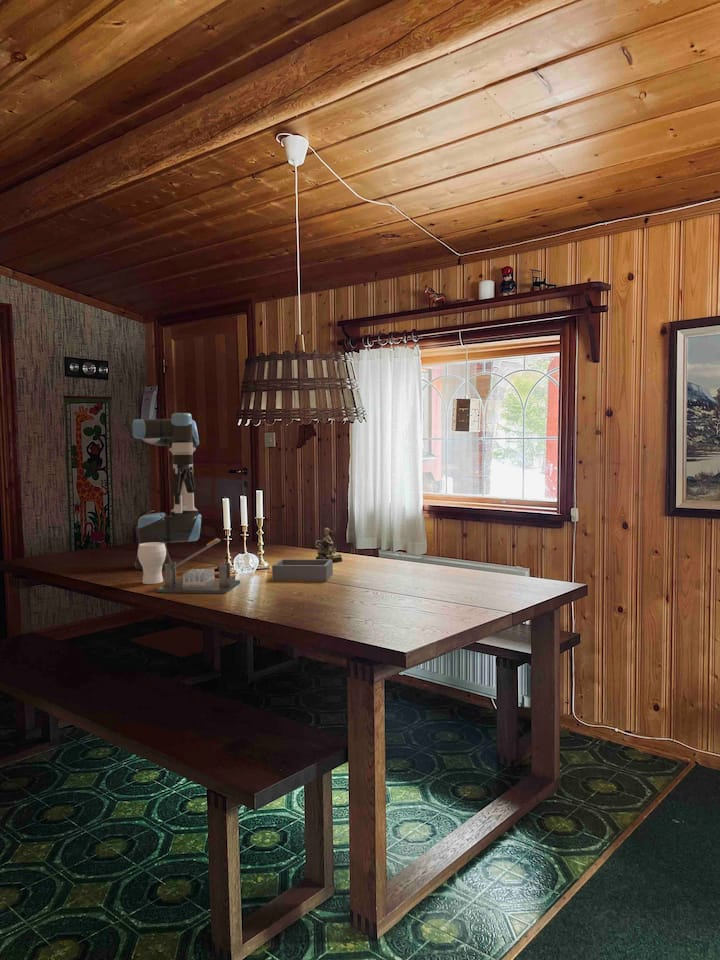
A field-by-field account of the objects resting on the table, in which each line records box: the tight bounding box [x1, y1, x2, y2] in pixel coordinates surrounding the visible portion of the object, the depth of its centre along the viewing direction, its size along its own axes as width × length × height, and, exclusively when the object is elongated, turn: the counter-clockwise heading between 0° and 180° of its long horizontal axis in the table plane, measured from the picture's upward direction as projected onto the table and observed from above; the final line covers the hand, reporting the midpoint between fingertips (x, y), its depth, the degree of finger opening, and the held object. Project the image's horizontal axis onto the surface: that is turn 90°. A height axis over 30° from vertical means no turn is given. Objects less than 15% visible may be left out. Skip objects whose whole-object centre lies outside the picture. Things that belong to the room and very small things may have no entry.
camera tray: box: [271, 558, 334, 582], centre depth 289 cm, size 14×21×6 cm
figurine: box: [314, 527, 343, 564], centre depth 325 cm, size 12×11×15 cm
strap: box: [171, 537, 221, 571], centre depth 271 cm, size 23×3×2 cm, turn 83°
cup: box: [137, 542, 166, 585], centre depth 283 cm, size 11×11×15 cm
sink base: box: [155, 561, 241, 595], centre depth 272 cm, size 26×18×9 cm
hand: (184, 511), depth 277 cm, fingers open, 11 cm apart
